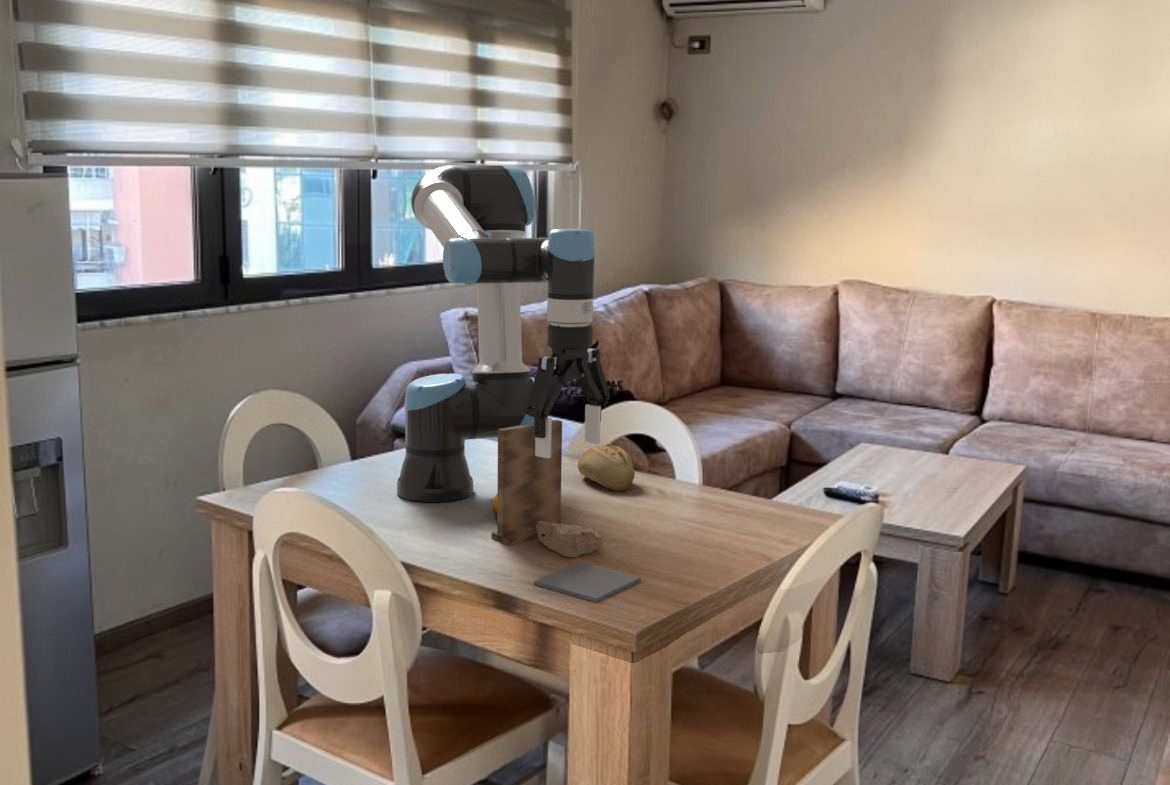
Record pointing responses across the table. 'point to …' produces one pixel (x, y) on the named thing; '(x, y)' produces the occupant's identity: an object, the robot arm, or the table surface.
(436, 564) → the table surface
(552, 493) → the board
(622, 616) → the table surface
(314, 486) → the table surface
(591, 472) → the bread roll
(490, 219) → the robot arm
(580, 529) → the stone
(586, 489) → the table surface
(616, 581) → the pad
